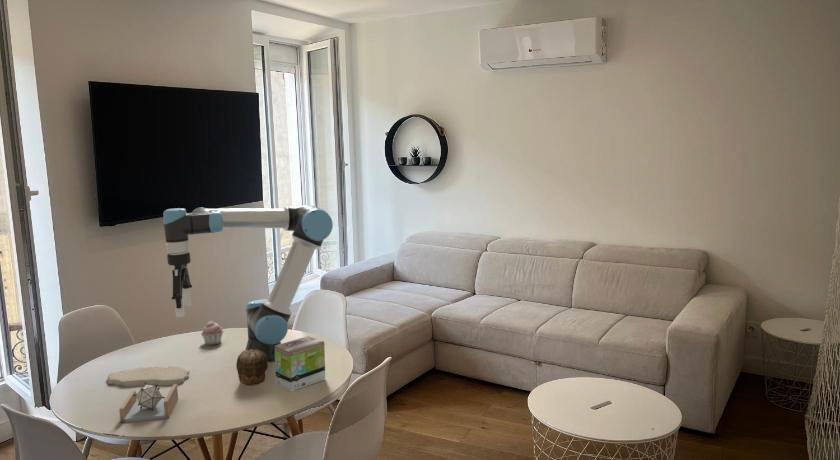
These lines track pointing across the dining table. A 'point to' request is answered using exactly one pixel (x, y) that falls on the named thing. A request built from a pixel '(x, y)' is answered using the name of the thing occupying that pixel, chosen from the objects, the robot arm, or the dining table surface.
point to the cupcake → (212, 333)
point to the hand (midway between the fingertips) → (184, 311)
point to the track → (160, 410)
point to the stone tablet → (149, 376)
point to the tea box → (299, 363)
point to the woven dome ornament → (252, 367)
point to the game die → (148, 396)
